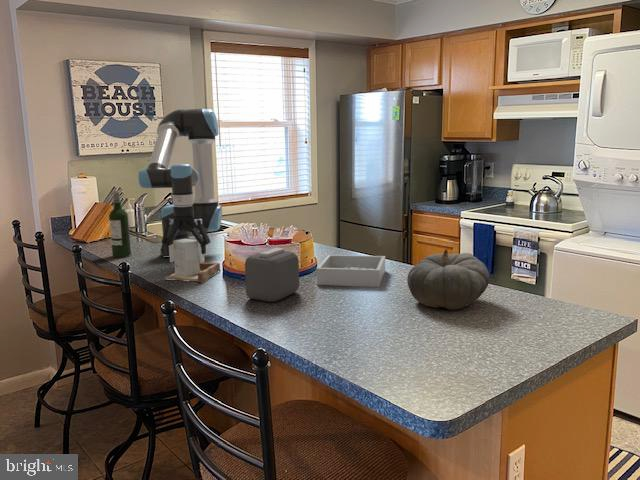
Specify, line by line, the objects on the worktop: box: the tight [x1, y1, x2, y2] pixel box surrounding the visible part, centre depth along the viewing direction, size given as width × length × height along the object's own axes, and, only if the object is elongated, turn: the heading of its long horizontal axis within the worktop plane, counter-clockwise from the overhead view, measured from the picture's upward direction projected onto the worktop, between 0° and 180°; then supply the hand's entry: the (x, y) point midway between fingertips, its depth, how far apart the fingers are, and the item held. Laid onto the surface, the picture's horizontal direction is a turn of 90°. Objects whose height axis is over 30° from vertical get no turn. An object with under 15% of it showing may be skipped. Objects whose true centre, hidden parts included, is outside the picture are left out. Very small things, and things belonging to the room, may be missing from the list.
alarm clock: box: [244, 247, 300, 303], centre depth 182 cm, size 16×11×16 cm
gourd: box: [406, 248, 491, 311], centre depth 171 cm, size 25×25×17 cm
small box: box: [173, 238, 200, 277], centre depth 211 cm, size 8×6×13 cm
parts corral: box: [315, 254, 386, 288], centre depth 205 cm, size 22×22×6 cm
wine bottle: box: [108, 189, 132, 259], centre depth 249 cm, size 8×8×30 cm
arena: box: [164, 262, 221, 283], centre depth 212 cm, size 17×16×4 cm
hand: (187, 262), depth 211 cm, fingers open, 12 cm apart
